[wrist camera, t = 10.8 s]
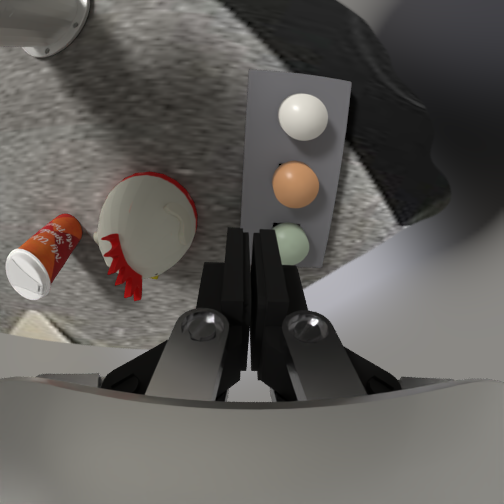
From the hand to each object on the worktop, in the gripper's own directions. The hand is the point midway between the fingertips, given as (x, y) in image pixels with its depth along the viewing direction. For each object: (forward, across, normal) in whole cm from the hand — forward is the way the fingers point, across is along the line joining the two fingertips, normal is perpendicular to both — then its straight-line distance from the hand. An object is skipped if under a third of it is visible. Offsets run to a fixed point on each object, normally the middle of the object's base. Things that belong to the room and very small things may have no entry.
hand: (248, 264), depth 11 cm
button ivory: (+28, -6, -4) cm, 29 cm away
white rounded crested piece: (+29, +13, +12) cm, 34 cm away
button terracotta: (+28, -6, +5) cm, 29 cm away
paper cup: (+29, +28, +14) cm, 43 cm away
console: (+29, -6, +4) cm, 30 cm away
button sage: (+28, -6, +13) cm, 31 cm away
